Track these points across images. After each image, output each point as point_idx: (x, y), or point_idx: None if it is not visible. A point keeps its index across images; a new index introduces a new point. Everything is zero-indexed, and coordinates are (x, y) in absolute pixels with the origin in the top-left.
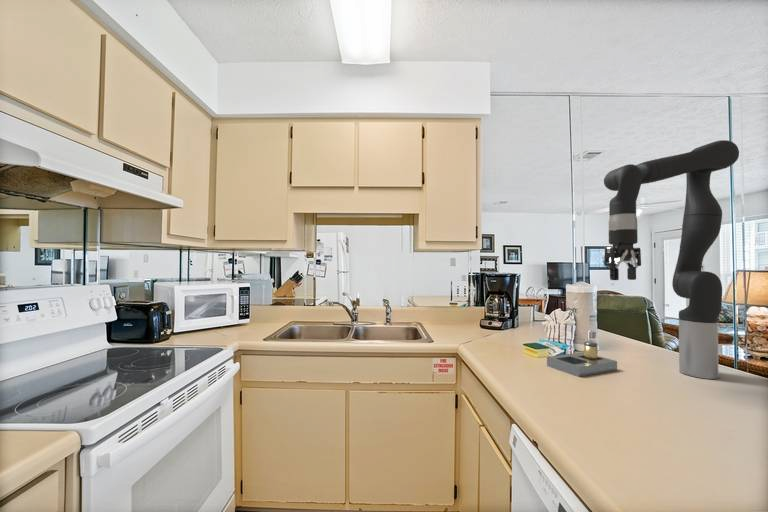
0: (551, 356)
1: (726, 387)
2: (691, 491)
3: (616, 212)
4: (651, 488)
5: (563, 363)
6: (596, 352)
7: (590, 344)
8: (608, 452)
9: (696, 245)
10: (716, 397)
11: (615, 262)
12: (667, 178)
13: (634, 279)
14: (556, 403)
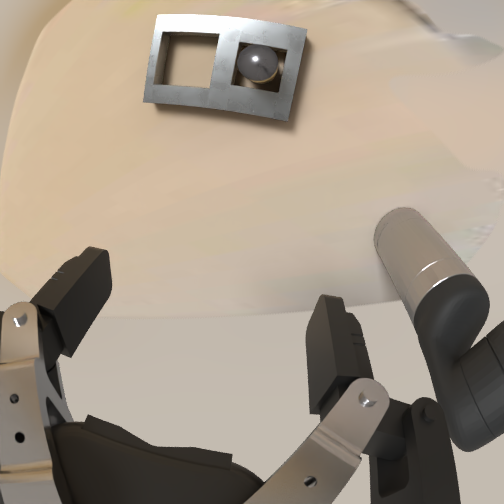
0: (172, 15)
1: (344, 276)
2: (34, 293)
3: None
4: (18, 279)
5: (149, 61)
6: (255, 81)
7: (239, 69)
8: (19, 249)
9: None
10: (265, 277)
11: (50, 385)
12: None
13: (309, 331)
14: (35, 166)
